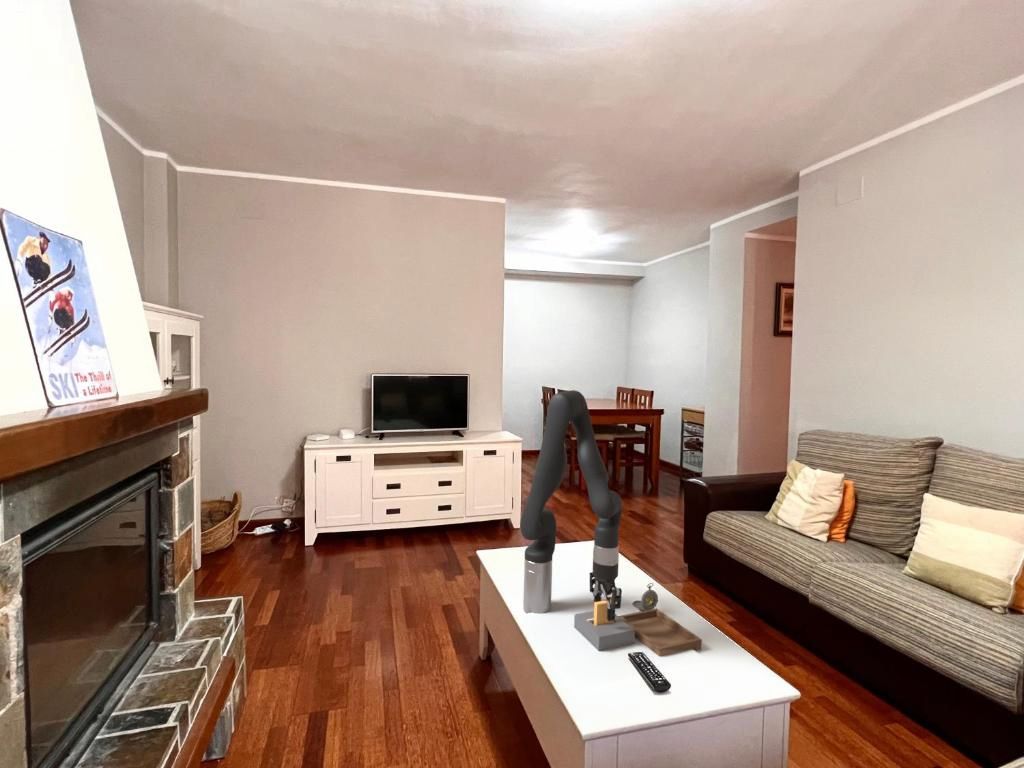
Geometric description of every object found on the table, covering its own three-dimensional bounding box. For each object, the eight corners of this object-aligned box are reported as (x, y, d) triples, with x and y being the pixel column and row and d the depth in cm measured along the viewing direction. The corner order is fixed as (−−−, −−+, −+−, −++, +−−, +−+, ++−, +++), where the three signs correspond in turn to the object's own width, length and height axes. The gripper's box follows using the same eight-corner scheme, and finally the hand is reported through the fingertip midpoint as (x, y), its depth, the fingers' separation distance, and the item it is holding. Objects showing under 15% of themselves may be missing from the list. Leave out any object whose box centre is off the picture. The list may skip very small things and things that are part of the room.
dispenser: (574, 630, 156) (574, 613, 155) (607, 623, 160) (607, 606, 160) (598, 654, 143) (599, 635, 143) (634, 646, 147) (634, 628, 147)
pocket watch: (635, 601, 176) (636, 573, 176) (659, 608, 172) (660, 578, 171) (627, 611, 169) (628, 581, 169) (653, 618, 165) (654, 587, 164)
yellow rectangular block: (593, 635, 151) (594, 602, 151) (610, 631, 153) (611, 599, 153) (596, 638, 150) (597, 604, 149) (613, 634, 152) (614, 601, 152)
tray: (617, 625, 159) (618, 616, 159) (656, 617, 165) (657, 608, 165) (659, 659, 141) (659, 649, 141) (701, 649, 147) (701, 639, 146)
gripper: (582, 552, 156) (580, 606, 156) (608, 570, 143) (606, 628, 143) (603, 549, 159) (601, 602, 159) (630, 566, 145) (628, 624, 146)
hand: (604, 614), depth 151 cm, fingers open, 6 cm apart
